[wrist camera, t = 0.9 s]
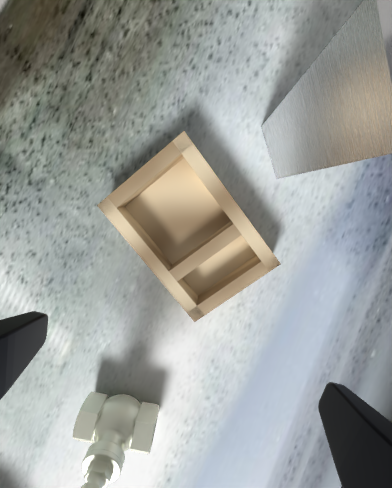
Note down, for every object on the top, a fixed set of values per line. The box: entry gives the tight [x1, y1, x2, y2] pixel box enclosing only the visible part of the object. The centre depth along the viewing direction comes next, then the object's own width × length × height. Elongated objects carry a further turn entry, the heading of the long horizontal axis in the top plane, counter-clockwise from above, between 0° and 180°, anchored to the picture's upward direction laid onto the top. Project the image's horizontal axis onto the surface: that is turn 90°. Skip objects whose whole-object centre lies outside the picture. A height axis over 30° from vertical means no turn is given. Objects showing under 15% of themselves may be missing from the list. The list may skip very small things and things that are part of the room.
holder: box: [97, 131, 280, 322], centre depth 17 cm, size 12×8×2 cm
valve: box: [73, 392, 159, 488], centre depth 17 cm, size 7×7×12 cm
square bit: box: [261, 0, 392, 179], centre depth 10 cm, size 4×4×14 cm
